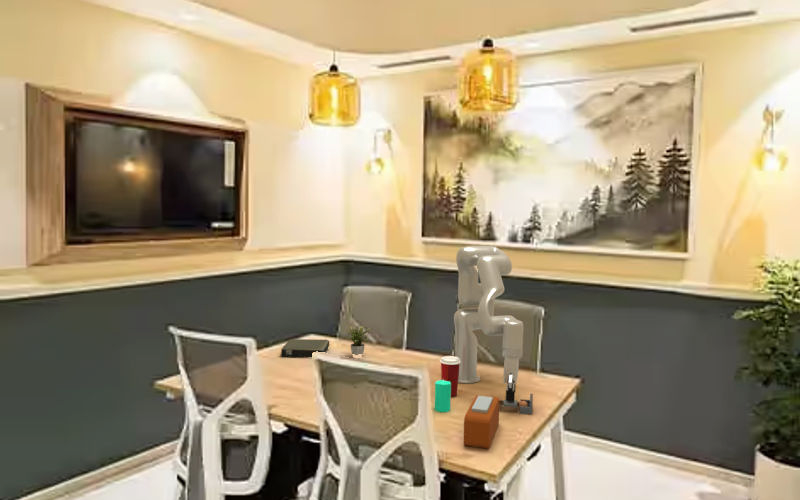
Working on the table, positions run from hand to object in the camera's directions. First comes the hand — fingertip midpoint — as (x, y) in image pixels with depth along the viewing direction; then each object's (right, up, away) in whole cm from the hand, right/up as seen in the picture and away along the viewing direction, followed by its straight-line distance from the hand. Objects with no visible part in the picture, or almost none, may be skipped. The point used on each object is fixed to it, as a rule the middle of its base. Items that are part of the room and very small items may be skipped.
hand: (510, 396), depth 230 cm
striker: (0, -5, 0) cm, 5 cm away
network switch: (-90, +3, +77) cm, 118 cm away
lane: (-5, -5, +1) cm, 7 cm away
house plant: (-63, +2, +68) cm, 93 cm away
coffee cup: (-22, -3, +15) cm, 27 cm away
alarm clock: (-14, -7, -26) cm, 30 cm away
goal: (+6, -5, -1) cm, 8 cm away
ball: (+5, -3, -1) cm, 6 cm away
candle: (-26, -5, -2) cm, 27 cm away
